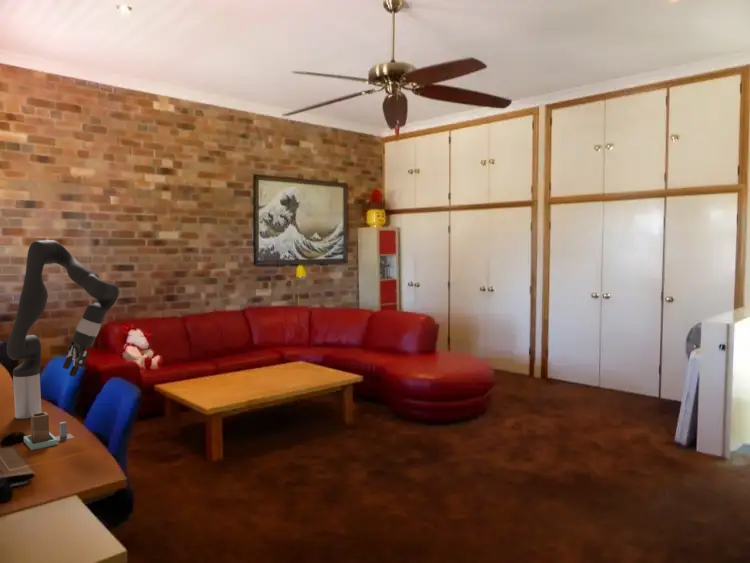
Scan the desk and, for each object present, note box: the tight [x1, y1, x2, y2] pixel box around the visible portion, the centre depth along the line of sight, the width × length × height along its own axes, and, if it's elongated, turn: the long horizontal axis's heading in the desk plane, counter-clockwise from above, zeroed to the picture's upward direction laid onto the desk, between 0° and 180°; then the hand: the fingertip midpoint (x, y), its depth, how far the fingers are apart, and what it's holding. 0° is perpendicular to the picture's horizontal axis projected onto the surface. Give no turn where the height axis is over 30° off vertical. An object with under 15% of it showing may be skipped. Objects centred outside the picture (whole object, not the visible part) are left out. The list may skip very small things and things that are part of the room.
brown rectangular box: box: [30, 411, 50, 444], centre depth 196 cm, size 5×5×10 cm
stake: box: [54, 421, 75, 442], centre depth 202 cm, size 6×6×6 cm
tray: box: [23, 431, 59, 451], centre depth 196 cm, size 12×8×2 cm
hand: (68, 372), depth 208 cm, fingers open, 8 cm apart
